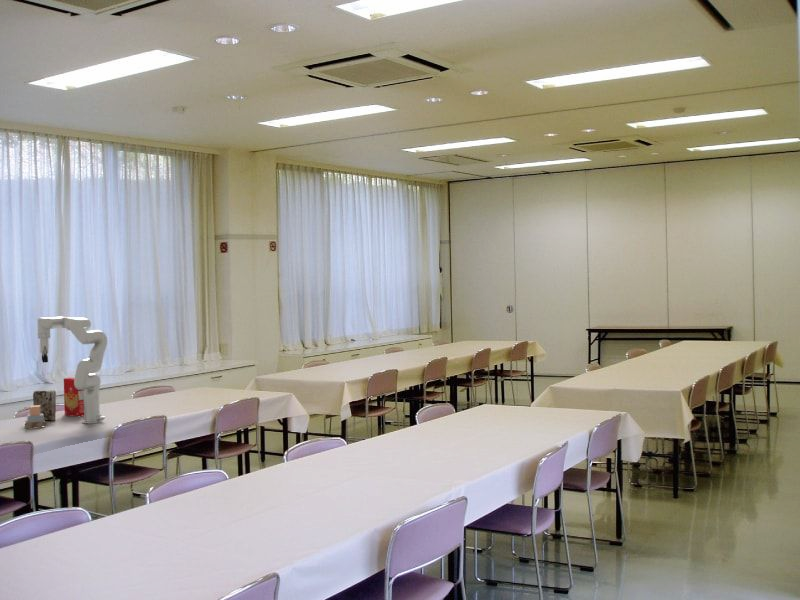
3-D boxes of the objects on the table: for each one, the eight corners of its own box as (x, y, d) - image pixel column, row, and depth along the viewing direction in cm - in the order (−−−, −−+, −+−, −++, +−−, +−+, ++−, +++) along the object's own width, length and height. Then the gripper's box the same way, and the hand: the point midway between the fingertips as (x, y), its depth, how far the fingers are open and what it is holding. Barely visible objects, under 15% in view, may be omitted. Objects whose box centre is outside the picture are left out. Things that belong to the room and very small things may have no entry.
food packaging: (64, 414, 555) (63, 378, 554) (71, 413, 560) (70, 377, 559) (78, 416, 548) (77, 379, 547) (85, 415, 552) (84, 378, 551)
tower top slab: (42, 419, 520) (42, 413, 520) (43, 421, 513) (43, 415, 512) (27, 420, 516) (27, 414, 516) (28, 422, 508) (28, 416, 508)
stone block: (57, 419, 539) (56, 389, 538) (53, 421, 532) (52, 391, 531) (36, 419, 538) (36, 389, 538) (32, 421, 531) (31, 391, 531)
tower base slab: (44, 425, 522) (44, 418, 522) (45, 427, 512) (45, 421, 512) (25, 426, 517) (25, 420, 517) (26, 429, 507) (25, 423, 507)
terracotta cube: (40, 413, 518) (40, 405, 518) (39, 415, 513) (39, 406, 512) (31, 414, 516) (30, 405, 516) (30, 415, 511) (29, 407, 511)
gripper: (37, 335, 545) (38, 360, 546) (38, 337, 530) (39, 363, 530) (49, 334, 548) (50, 360, 549) (51, 336, 533) (51, 362, 534)
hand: (44, 361), depth 540 cm, fingers open, 9 cm apart
